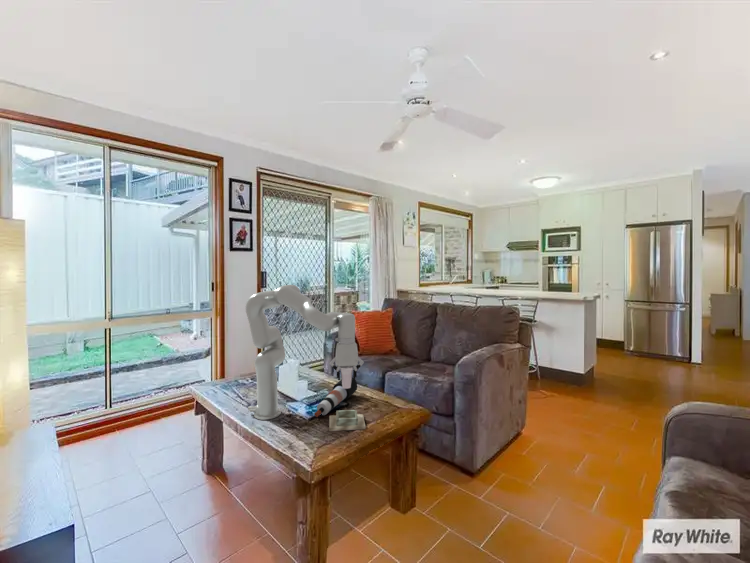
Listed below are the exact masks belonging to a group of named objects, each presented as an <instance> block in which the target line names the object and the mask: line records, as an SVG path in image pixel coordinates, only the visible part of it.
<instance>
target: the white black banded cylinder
mask: <svg viewBox="0 0 750 563" xmlns="http://www.w3.org/2000/svg"><path fill="white" fill-rule="evenodd" d="M357 389H358V383H357V380H356V379H355V380H354V379H353V377H352V380H351V388H348V389H345V388H343V387H342V378H340V380H338V382H337V383H335V384H334V386H333V387H332V390H331V391H330V392H329V393H328V394H327V395H326V397H324V398H323V400H321V401H320V403H318V404H317V406H316V410H317V411H316V412H314V416H315V417H316V418H318V417H320V415H321V414H322V415H321V416H326V415H327V414H328V413H330V412H331V411H332V410H333V409H334V408H335V407H337V406H338V405H339V404H340V403H342V402H346V401H347V400H348V399H349V398H350V397H351V396H352V395H354V394H355V393H356V391H357Z"/></svg>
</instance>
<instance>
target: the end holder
mask: <svg viewBox="0 0 750 563" xmlns="http://www.w3.org/2000/svg"><path fill="white" fill-rule="evenodd" d="M335 414H336V415H334V414H333V415H329V420H328V422H329V427H328V428H329V430H328V431H329V432H334V431H354V430H356V431H357V430H366V423H365V418H364V413H358V411H357V409H342V410H340V409H339V410H336V412H335Z"/></svg>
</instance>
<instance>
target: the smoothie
mask: <svg viewBox="0 0 750 563" xmlns="http://www.w3.org/2000/svg"><path fill="white" fill-rule="evenodd" d="M339 370H340V379H342V387H343V388H345V389H348V388H351V380H352V378H353V370H354V368H353V366H341V367H340V369H339Z"/></svg>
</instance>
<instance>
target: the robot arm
mask: <svg viewBox="0 0 750 563" xmlns="http://www.w3.org/2000/svg"><path fill="white" fill-rule="evenodd" d="M283 305H284V306H285V307H287V308H289V309H290V310H293V311H294V312H296V313H297V314H300V315H301V317H302V318H303V319H304V320H305V321H306V322H307V323H308V324H309V325H311V326H313V327H314V328H315V329H318V330H320V331H323V332H329V331H332V330H334V329H336V328H337V329H338V330H337V331H338V334H337V335H338V336H337V337H336V338H334V339H335V340H334V341H335V342H337V343H336V347H335V356H334V357H333V358H332V360H330V361H329V366H331V367H332V368H333V369H334V371H336V379H337V380H338V381H340V380H341V370H340V367H341V366H353V368H354V369H353V373H352V378H353V379H354V380H356V378H357V373H358V372H357V371H358V370H359V369H360V368H361V367H362V366H363V364H365V361H364V360H363V359H361V357H360V356H359V352H358V344H357V343H356V339H355V338H356V317H355V314H354V313H352V312H351V313H350V312H345V313H344V312H343V313H342V312H336V311H330V312H328V313H324V312H323V311H320V310H318V308H316V307H315V306H314V305H313V304H312V299H311V298H310V297H309V296H307V295H305V294H303V293H301V290H300V288H299V287H298V286H296V285H295V284H285V285H281V286H279V287H278V288H277V289H273V290H267V291H261V292H256V293H254V294H253V295H251V296H249V298H248V299H247V301H246V303H245V313H246V317H247V320H248V324H249V329H250V335H251V339H252V342H253V346H254V347H255V348H257V349H265V350H263V351H261V352H259V353H258V354H257V355H256V356H255V359H254V368H255V374H256V403H257V404H256V405H254V406H253V405H252V406H248V407H247V410H248V411H249V413H253V417H254V418H255V419H257V420H262V421H266V420H267V421H268V420H272V419H275V418H278V417H279V416H280V415H281V414H282V410H281V409H280V408H279V407H278V404H279V403H278V398H279V397H278V375H277V372H276V367H277V366H279V365H281V364H282V363H284V361H285V358H286V351H285V350H286V349H285V346H284V343H283V342H284V341H283V336H282V332H280V330H279V328H277V326H275V325H270V324H269V322H268V317H267V315H266V314H265V312H264V311H265V310H269V309H273V308H276V307H280V306H283Z"/></svg>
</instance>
